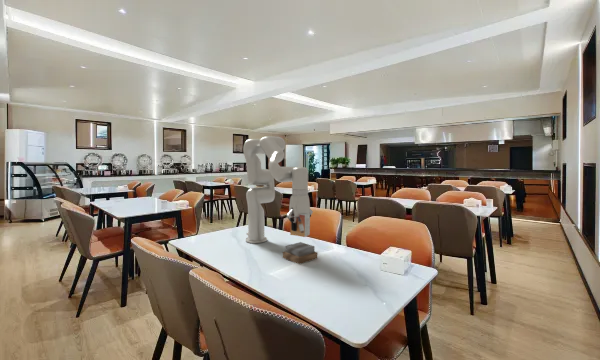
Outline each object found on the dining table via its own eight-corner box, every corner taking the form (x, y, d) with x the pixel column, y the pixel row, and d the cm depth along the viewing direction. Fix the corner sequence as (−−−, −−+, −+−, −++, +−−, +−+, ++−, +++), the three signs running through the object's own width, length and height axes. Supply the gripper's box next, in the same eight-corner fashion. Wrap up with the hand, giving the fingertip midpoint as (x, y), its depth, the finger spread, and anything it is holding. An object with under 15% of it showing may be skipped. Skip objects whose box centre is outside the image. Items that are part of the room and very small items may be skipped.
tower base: (282, 257, 144) (282, 245, 143) (300, 252, 152) (300, 241, 151) (299, 264, 135) (299, 251, 134) (317, 258, 143) (317, 246, 142)
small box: (290, 235, 142) (290, 213, 141) (295, 232, 147) (295, 211, 146) (304, 237, 138) (304, 215, 137) (310, 234, 143) (310, 213, 142)
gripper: (307, 191, 150) (307, 225, 151) (280, 193, 138) (281, 230, 139) (318, 192, 144) (318, 228, 145) (291, 194, 133) (291, 233, 134)
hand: (300, 229), depth 142 cm, fingers closed on small box, 7 cm apart
